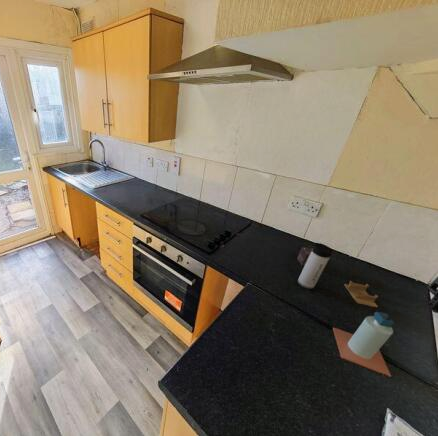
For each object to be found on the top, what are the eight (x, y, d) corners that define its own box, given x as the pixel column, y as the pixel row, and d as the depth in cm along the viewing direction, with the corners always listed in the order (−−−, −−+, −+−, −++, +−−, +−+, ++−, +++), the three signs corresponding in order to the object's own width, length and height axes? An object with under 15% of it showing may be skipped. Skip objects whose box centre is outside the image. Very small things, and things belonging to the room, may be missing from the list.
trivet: (375, 343, 76) (375, 342, 76) (390, 377, 66) (391, 376, 66) (332, 328, 80) (333, 327, 80) (341, 357, 71) (341, 357, 70)
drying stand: (377, 307, 90) (382, 300, 88) (356, 303, 92) (361, 296, 90) (362, 288, 100) (366, 282, 98) (344, 284, 101) (347, 278, 99)
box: (301, 265, 112) (307, 253, 108) (296, 258, 117) (301, 246, 114) (314, 267, 111) (320, 255, 108) (308, 260, 116) (314, 248, 113)
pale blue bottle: (365, 343, 75) (376, 362, 70) (344, 338, 76) (353, 355, 71) (393, 309, 67) (407, 326, 62) (368, 303, 69) (380, 320, 63)
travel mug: (298, 276, 104) (316, 240, 95) (315, 284, 100) (335, 247, 91) (295, 282, 100) (312, 245, 91) (312, 291, 96) (332, 253, 87)
